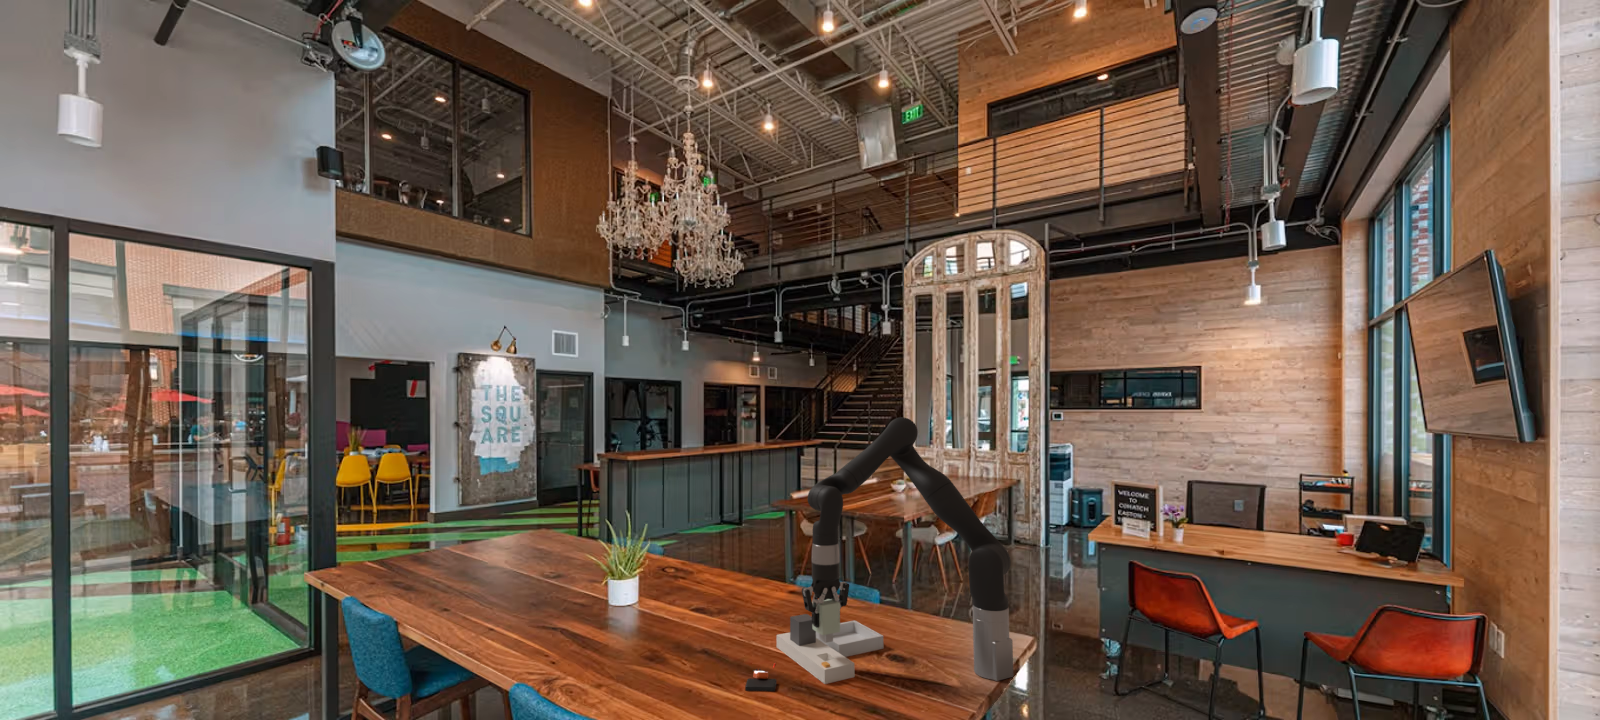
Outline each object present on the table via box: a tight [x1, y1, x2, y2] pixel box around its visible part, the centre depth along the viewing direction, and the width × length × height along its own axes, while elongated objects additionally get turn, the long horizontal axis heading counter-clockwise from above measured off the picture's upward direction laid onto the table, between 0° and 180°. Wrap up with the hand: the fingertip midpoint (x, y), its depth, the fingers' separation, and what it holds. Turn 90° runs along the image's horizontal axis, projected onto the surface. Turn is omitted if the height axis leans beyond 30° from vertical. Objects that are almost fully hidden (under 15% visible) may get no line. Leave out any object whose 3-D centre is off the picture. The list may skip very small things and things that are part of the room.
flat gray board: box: [776, 632, 856, 685], centre depth 172 cm, size 28×9×4 cm, turn 28°
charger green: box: [812, 598, 841, 643], centre depth 166 cm, size 5×5×10 cm
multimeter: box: [744, 662, 777, 693], centre depth 162 cm, size 18×12×3 cm, turn 172°
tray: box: [816, 619, 884, 658], centre depth 184 cm, size 15×15×4 cm
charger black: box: [789, 613, 816, 646], centre depth 177 cm, size 5×5×9 cm
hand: (826, 624), depth 166 cm, fingers closed on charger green, 5 cm apart
